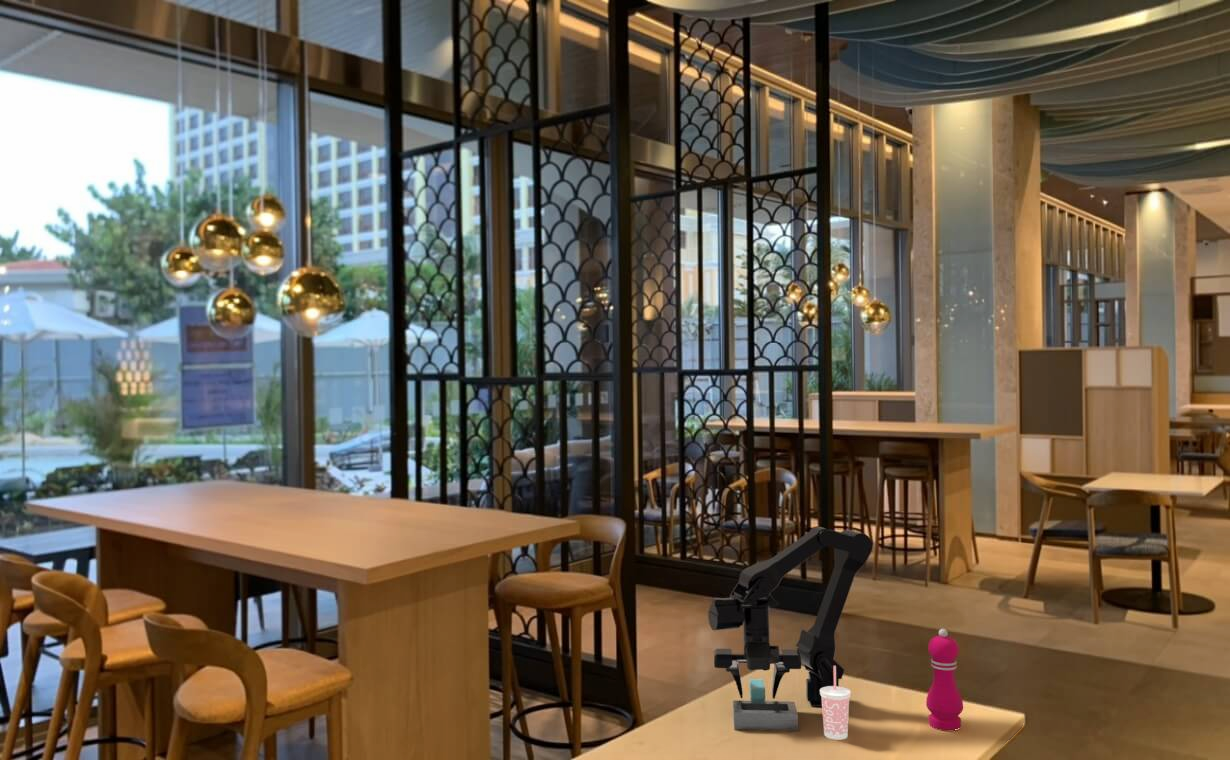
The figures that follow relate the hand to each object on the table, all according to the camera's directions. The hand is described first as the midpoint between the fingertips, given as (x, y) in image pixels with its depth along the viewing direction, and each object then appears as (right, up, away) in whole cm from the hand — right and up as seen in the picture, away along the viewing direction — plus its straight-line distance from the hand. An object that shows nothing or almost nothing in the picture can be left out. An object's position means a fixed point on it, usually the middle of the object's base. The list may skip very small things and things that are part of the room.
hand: (757, 697), depth 199 cm
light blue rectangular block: (0, -3, 0) cm, 2 cm away
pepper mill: (+37, -2, -11) cm, 39 cm away
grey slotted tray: (0, -2, -9) cm, 9 cm away
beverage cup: (+13, -2, -16) cm, 21 cm away
